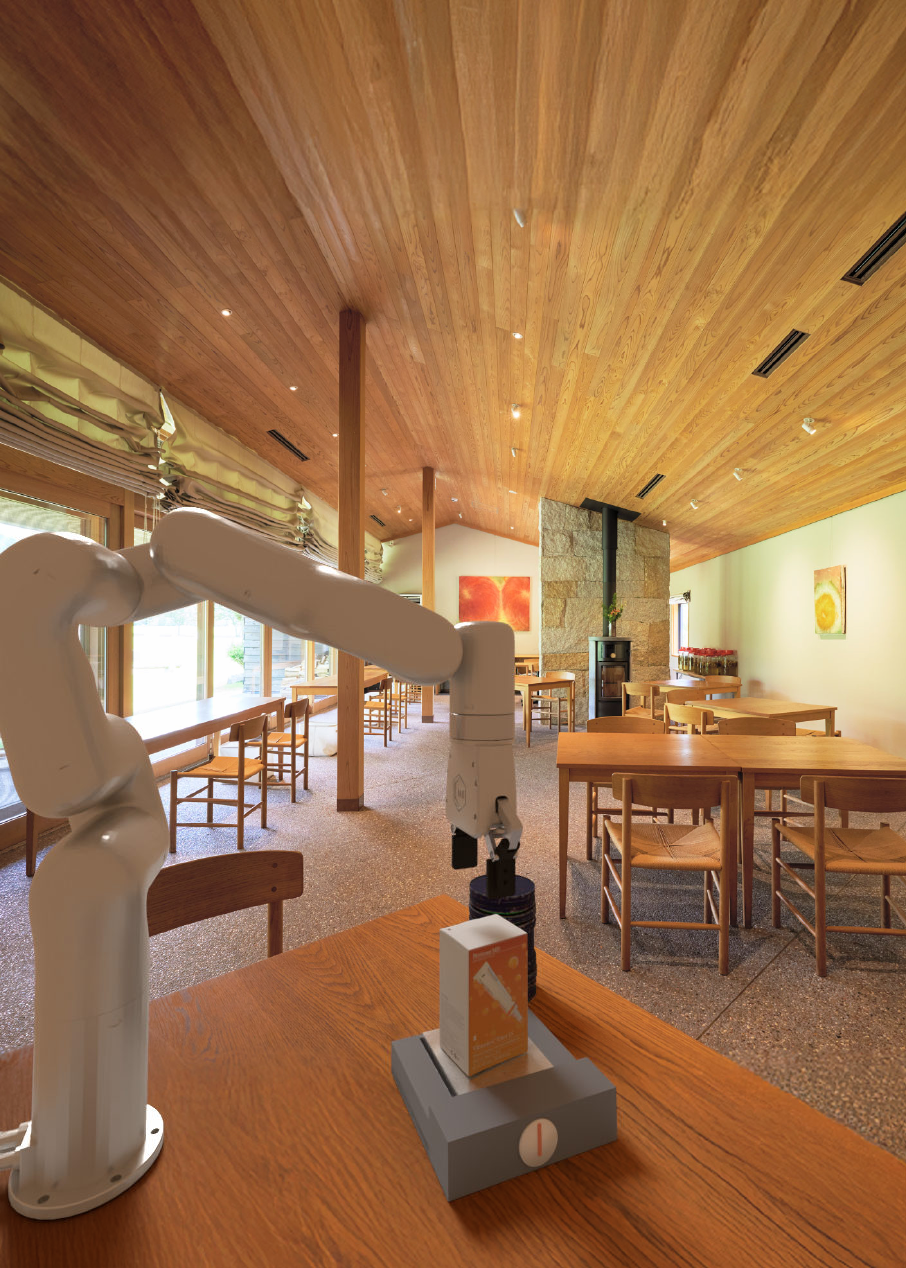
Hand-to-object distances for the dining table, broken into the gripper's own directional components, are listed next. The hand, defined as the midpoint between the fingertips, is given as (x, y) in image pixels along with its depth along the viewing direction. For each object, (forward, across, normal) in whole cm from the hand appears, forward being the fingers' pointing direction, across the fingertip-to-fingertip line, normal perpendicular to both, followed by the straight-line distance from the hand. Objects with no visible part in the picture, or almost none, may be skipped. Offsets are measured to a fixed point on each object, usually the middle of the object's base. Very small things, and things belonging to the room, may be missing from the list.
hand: (481, 881), depth 67 cm
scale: (+23, +3, 0) cm, 23 cm away
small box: (+19, 0, 0) cm, 19 cm away
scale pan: (+21, 0, +1) cm, 21 cm away
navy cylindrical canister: (+23, -17, +12) cm, 31 cm away
